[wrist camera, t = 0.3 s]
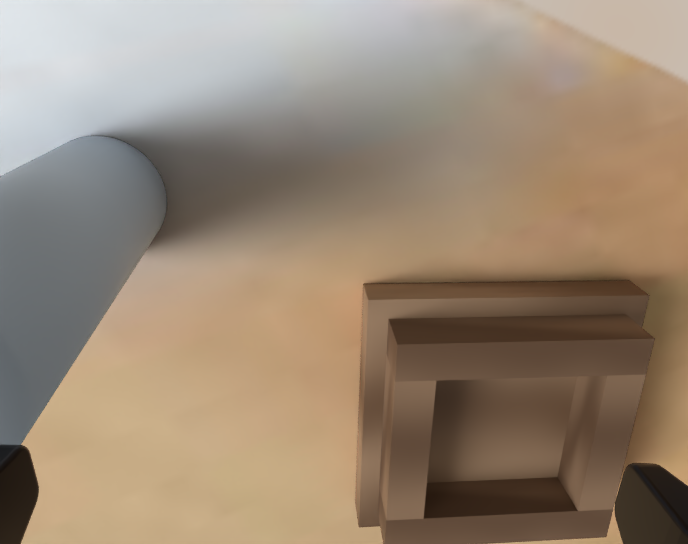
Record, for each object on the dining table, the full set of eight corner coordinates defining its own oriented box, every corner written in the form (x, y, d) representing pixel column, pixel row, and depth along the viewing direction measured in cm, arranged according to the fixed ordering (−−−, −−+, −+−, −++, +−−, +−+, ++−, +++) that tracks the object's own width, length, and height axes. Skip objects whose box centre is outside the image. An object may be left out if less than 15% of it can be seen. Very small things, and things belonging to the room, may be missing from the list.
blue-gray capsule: (171, 254, 22) (48, 492, 11) (50, 255, 22) (-212, 503, 10) (161, 136, 21) (2, 268, 9) (29, 135, 20) (-308, 271, 9)
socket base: (583, 491, 29) (620, 550, 25) (355, 502, 28) (364, 564, 24) (629, 280, 25) (680, 318, 21) (363, 284, 24) (375, 324, 20)
